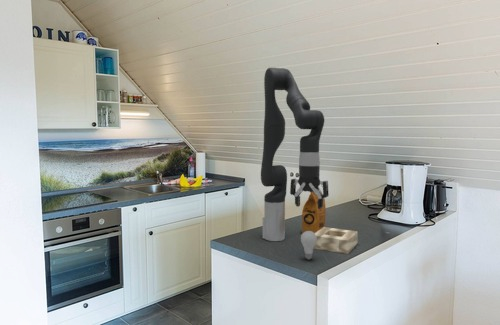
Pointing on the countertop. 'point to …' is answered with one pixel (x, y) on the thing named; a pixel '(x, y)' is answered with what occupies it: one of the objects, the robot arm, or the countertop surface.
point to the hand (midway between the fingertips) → (308, 207)
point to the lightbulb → (308, 243)
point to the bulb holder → (336, 240)
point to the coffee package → (313, 214)
